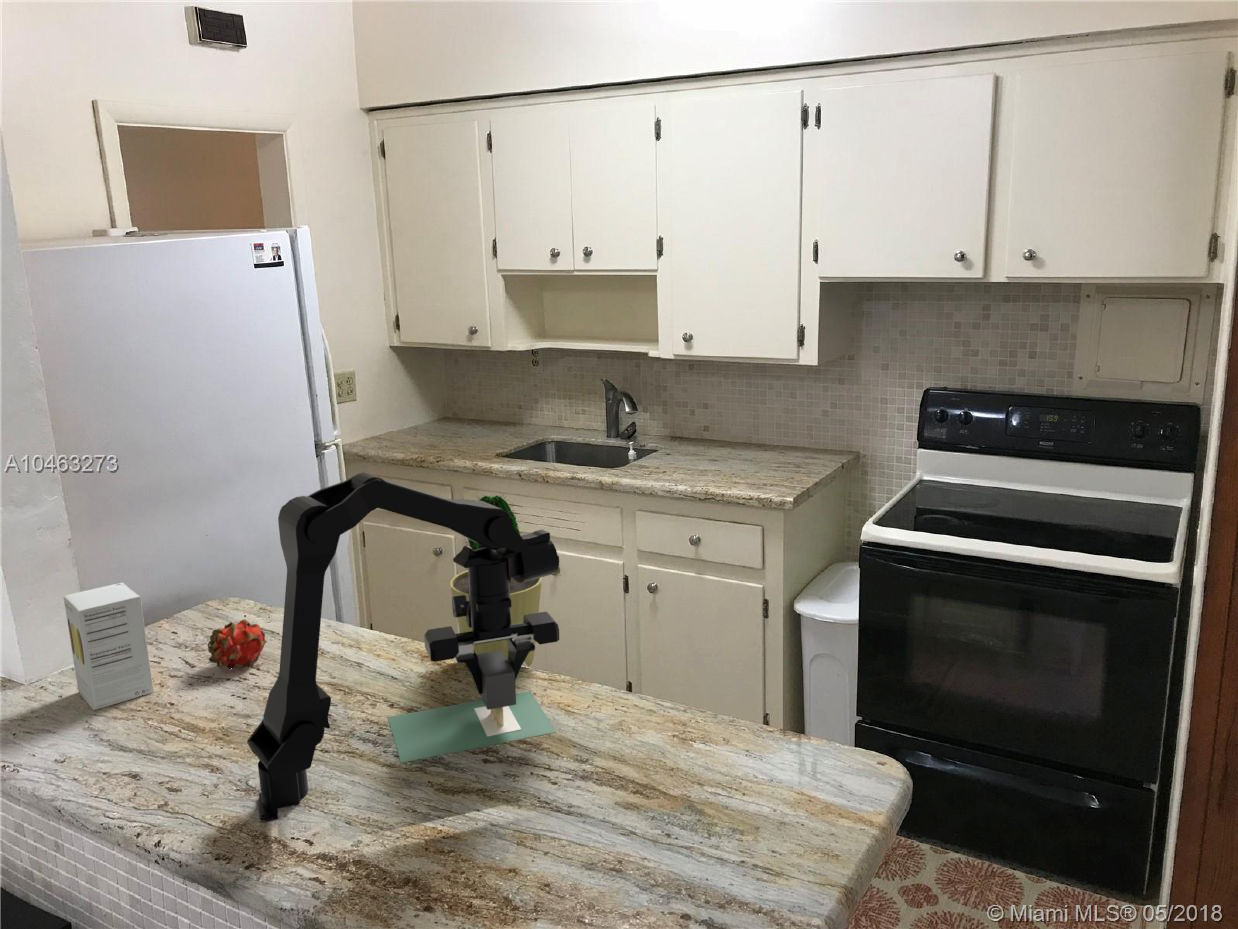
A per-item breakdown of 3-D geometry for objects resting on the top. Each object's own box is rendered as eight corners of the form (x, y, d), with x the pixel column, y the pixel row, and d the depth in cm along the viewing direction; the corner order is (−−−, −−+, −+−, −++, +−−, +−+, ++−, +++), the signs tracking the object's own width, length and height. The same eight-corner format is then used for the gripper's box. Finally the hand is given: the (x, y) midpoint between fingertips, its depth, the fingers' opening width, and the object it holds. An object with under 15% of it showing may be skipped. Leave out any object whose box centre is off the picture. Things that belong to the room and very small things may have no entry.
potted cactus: (560, 649, 171) (554, 484, 164) (520, 686, 157) (511, 507, 150) (483, 638, 177) (473, 477, 170) (438, 673, 163) (426, 500, 156)
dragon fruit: (208, 688, 163) (260, 669, 174) (240, 664, 160) (291, 646, 171) (185, 643, 164) (238, 627, 175) (216, 619, 161) (268, 604, 172)
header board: (556, 741, 140) (555, 712, 139) (401, 772, 133) (399, 742, 132) (531, 699, 153) (529, 673, 152) (388, 726, 145) (386, 698, 144)
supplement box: (76, 692, 159) (61, 594, 155) (136, 674, 165) (123, 580, 161) (93, 712, 152) (77, 610, 148) (155, 693, 158) (141, 595, 154)
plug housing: (516, 704, 140) (514, 672, 139) (487, 709, 138) (485, 677, 137) (498, 673, 150) (496, 642, 149) (471, 677, 149) (469, 647, 147)
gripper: (537, 564, 150) (541, 658, 153) (415, 580, 143) (422, 678, 147) (558, 587, 139) (562, 688, 143) (427, 606, 133) (434, 711, 137)
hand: (495, 690), depth 143 cm, fingers closed on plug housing, 4 cm apart
